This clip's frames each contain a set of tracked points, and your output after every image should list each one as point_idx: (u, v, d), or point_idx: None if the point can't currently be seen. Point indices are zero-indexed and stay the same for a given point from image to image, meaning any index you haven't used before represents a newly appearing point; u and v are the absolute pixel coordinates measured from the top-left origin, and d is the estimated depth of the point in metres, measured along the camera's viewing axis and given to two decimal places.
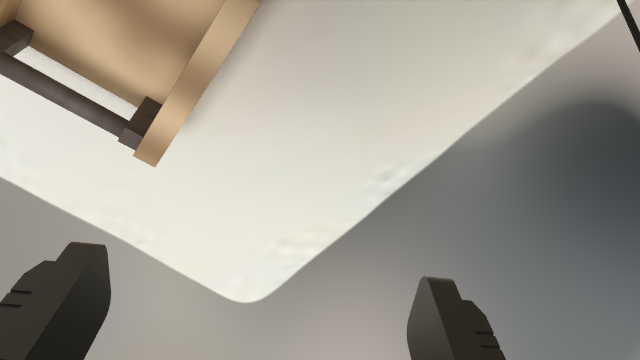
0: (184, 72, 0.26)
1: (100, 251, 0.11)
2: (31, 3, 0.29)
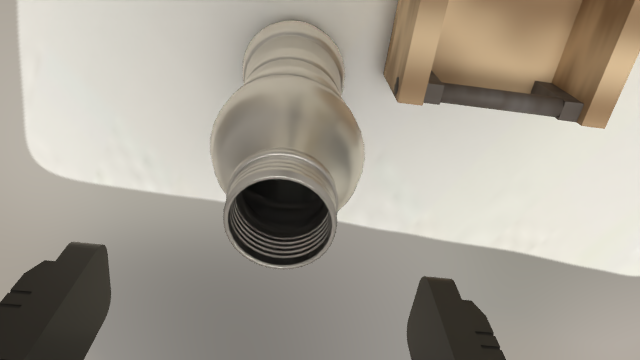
0: (633, 8, 0.26)
1: (100, 251, 0.11)
2: None
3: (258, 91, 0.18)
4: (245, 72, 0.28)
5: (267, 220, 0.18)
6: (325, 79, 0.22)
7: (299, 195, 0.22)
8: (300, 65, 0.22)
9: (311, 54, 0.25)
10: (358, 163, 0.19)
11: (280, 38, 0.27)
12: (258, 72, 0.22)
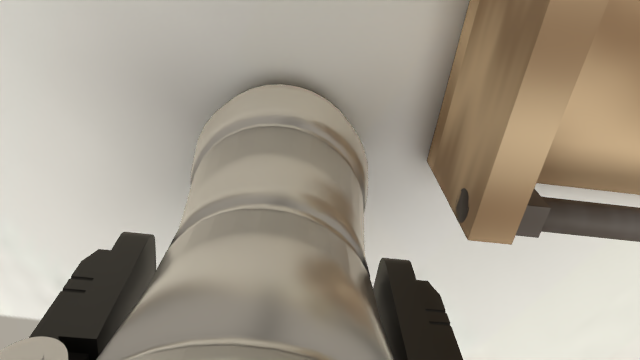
0: None
1: (150, 240, 0.12)
2: None
3: None
4: None
5: None
6: (338, 272, 0.09)
7: None
8: (280, 239, 0.10)
9: (309, 176, 0.13)
10: None
11: (252, 132, 0.14)
12: (183, 257, 0.09)
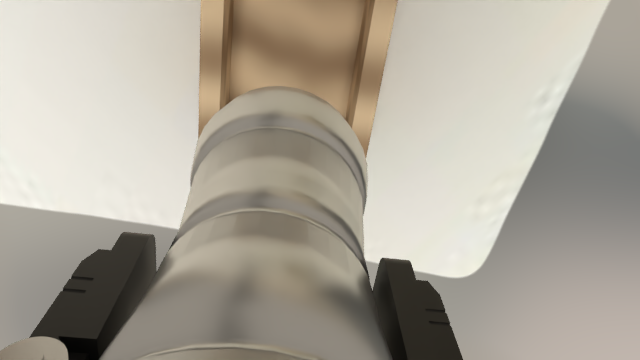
0: (363, 74, 0.34)
1: (150, 240, 0.12)
2: (236, 91, 0.39)
3: None
4: (192, 185, 0.16)
5: None
6: (337, 274, 0.10)
7: None
8: (280, 242, 0.10)
9: (308, 178, 0.13)
10: None
11: (251, 134, 0.14)
12: (183, 259, 0.09)
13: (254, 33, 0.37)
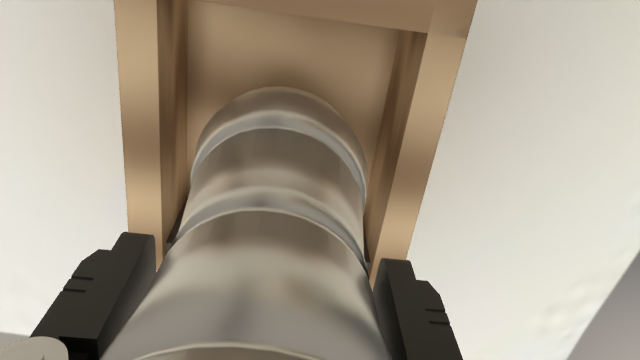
0: (398, 166, 0.20)
1: (150, 240, 0.12)
2: None
3: None
4: (192, 186, 0.16)
5: None
6: (337, 275, 0.10)
7: None
8: (280, 242, 0.10)
9: (308, 178, 0.13)
10: None
11: (251, 135, 0.14)
12: (183, 260, 0.09)
13: (222, 89, 0.24)
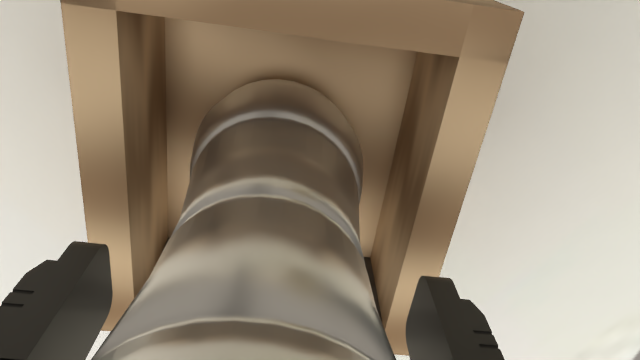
0: (418, 215, 0.17)
1: (102, 250, 0.11)
2: (179, 211, 0.22)
3: None
4: None
5: None
6: (334, 257, 0.10)
7: None
8: (278, 227, 0.10)
9: (305, 167, 0.13)
10: None
11: (249, 126, 0.15)
12: (185, 244, 0.10)
13: None
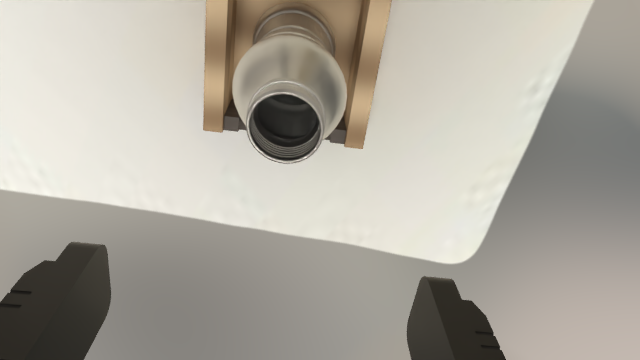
0: (360, 63, 0.35)
1: (100, 251, 0.11)
2: None
3: (268, 43, 0.25)
4: (255, 43, 0.35)
5: (275, 136, 0.24)
6: (318, 41, 0.29)
7: (298, 131, 0.29)
8: (299, 31, 0.29)
9: (307, 26, 0.32)
10: (341, 97, 0.26)
11: (283, 14, 0.33)
12: (267, 36, 0.29)
13: None
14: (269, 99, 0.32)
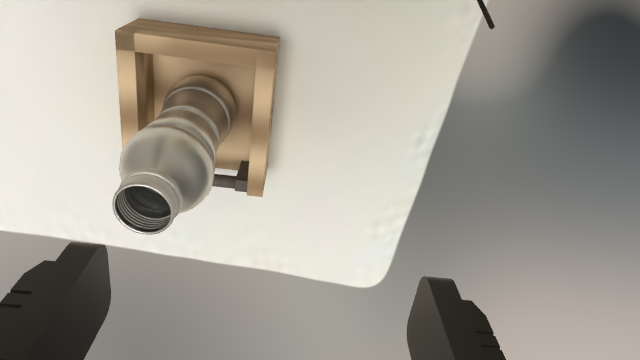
0: (252, 129, 0.42)
1: (100, 251, 0.11)
2: None
3: (142, 136, 0.31)
4: None
5: (147, 209, 0.31)
6: (197, 123, 0.35)
7: None
8: (182, 114, 0.35)
9: (198, 104, 0.39)
10: (204, 176, 0.32)
11: (182, 91, 0.40)
12: (156, 119, 0.35)
13: None
14: None
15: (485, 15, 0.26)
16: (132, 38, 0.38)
